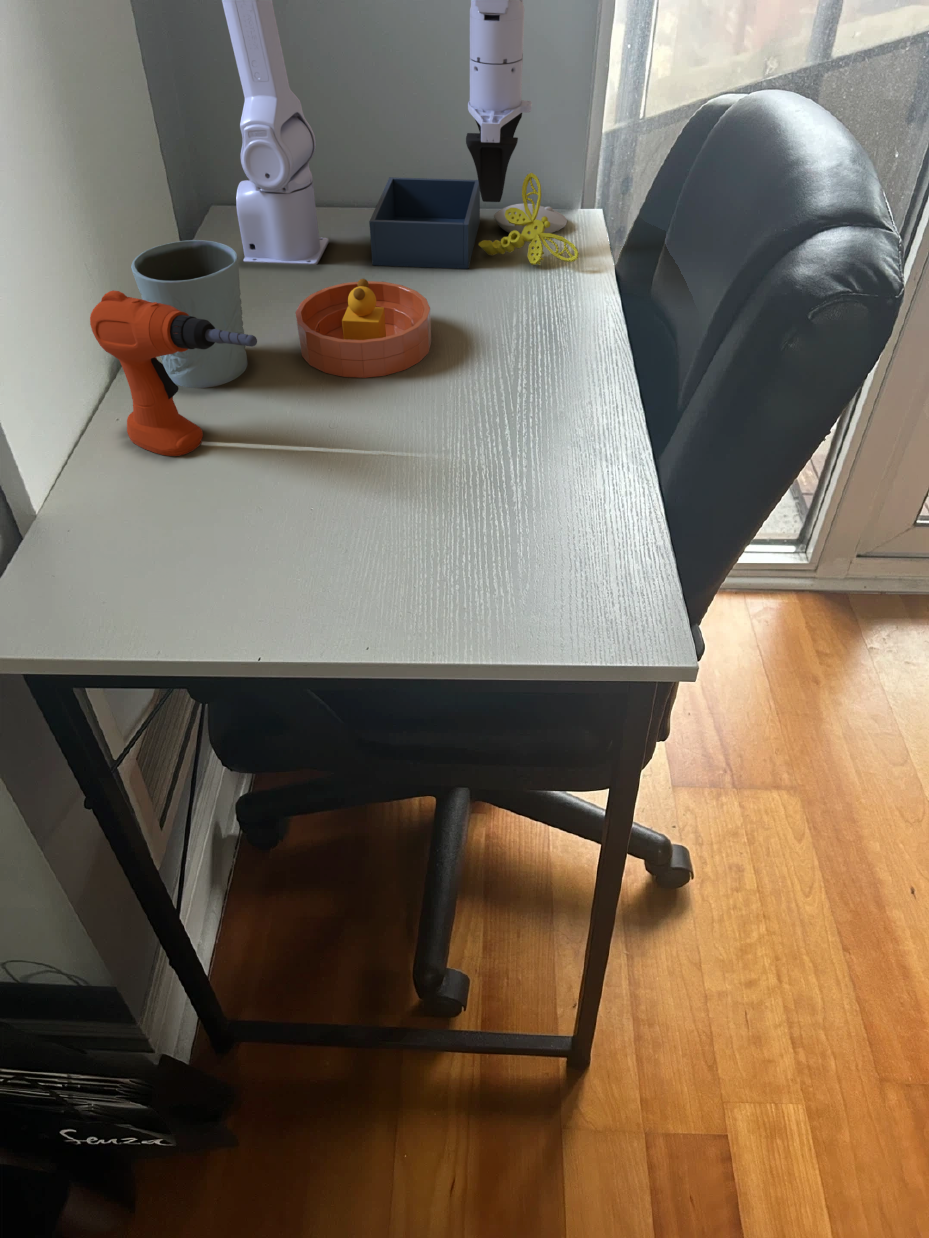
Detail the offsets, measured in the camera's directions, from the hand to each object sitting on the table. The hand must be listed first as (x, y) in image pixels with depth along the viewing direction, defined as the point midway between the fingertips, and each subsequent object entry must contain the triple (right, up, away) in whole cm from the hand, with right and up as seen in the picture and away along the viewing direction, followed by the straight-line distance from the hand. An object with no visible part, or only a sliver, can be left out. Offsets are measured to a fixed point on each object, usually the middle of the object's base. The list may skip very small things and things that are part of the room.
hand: (494, 188), depth 111 cm
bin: (-8, -1, +13) cm, 16 cm away
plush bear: (-14, -21, -8) cm, 26 cm away
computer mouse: (+5, +2, +17) cm, 18 cm away
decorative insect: (+4, -6, +7) cm, 10 cm away
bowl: (-14, -21, -7) cm, 26 cm away
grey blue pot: (-31, -24, -10) cm, 40 cm away
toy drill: (-28, -35, -21) cm, 50 cm away
